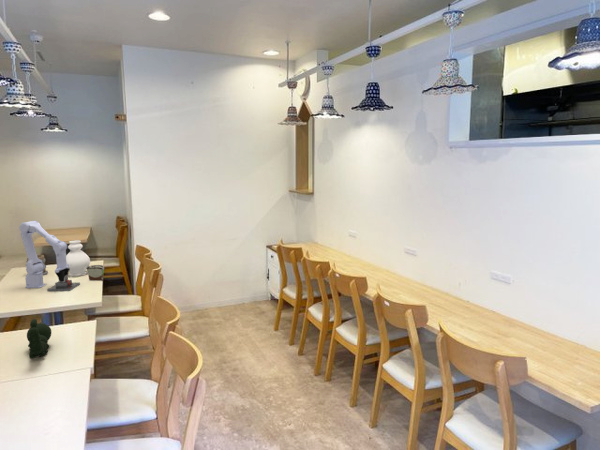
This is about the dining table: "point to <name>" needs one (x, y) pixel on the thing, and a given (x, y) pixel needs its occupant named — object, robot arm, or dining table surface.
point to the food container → (95, 272)
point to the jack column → (65, 278)
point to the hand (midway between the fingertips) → (63, 280)
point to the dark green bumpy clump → (38, 338)
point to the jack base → (63, 286)
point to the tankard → (42, 262)
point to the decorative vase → (77, 259)
